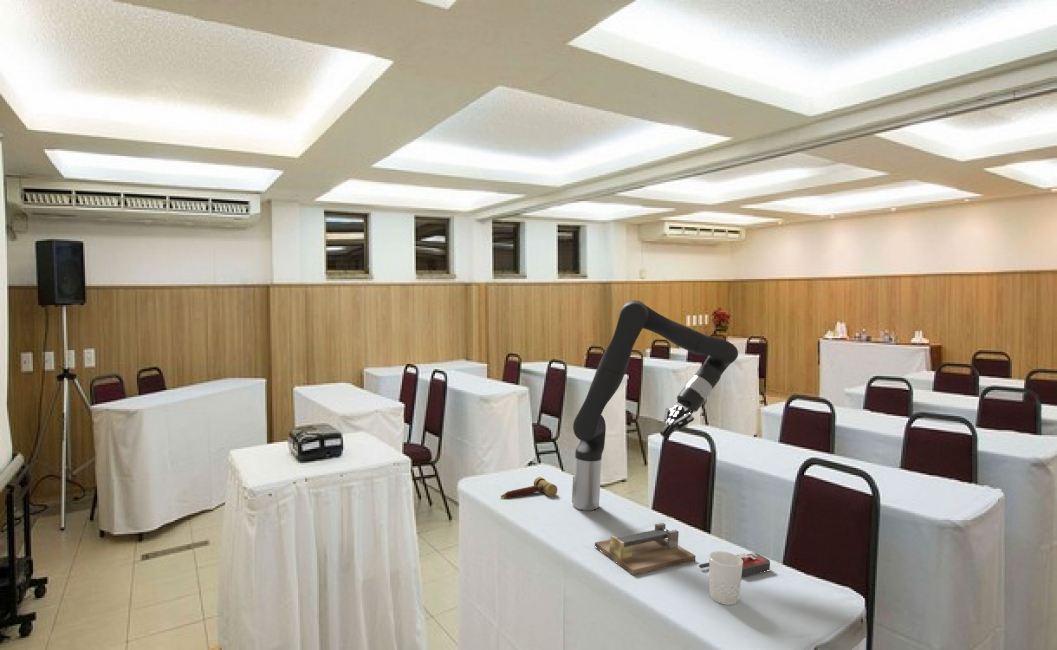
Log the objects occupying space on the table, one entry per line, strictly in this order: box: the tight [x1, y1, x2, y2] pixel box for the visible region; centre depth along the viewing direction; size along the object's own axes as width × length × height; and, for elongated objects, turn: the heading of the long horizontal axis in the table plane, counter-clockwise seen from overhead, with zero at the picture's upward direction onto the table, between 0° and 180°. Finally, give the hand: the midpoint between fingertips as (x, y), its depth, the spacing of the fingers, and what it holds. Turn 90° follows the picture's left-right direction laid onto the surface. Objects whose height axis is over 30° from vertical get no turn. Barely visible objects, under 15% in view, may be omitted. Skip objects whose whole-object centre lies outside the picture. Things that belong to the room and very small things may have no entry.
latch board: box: [594, 522, 696, 576], centre depth 162 cm, size 18×22×6 cm
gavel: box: [500, 476, 558, 499], centre depth 207 cm, size 21×5×10 cm
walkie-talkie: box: [698, 552, 771, 579], centre depth 155 cm, size 9×4×20 cm
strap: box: [616, 527, 670, 547], centre depth 162 cm, size 4×18×2 cm, turn 117°
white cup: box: [708, 551, 743, 606], centre depth 139 cm, size 8×8×10 cm
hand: (662, 435), depth 174 cm, fingers closed
